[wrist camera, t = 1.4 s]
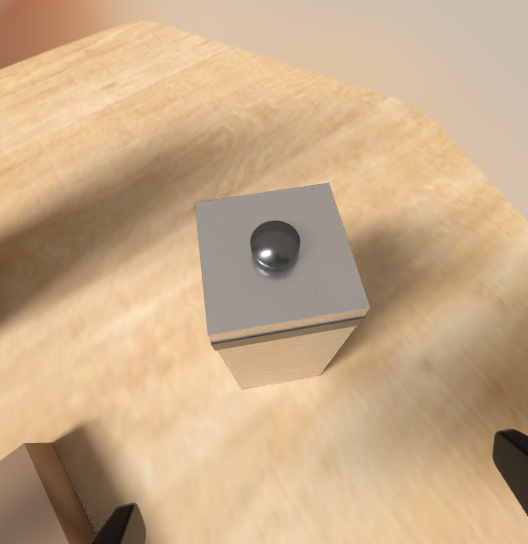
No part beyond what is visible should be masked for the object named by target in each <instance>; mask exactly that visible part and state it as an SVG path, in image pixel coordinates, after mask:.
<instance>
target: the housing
mask: <svg viewBox="0 0 528 544" xmlns="http://www.w3.org/2000/svg"><path fill="white" fill-rule="evenodd" d="M195 209H196V219H197V229H198V239H199V249H200V260H201V270H202V280H203V290H204V301H205V311H206V321H207V331H208V336H209V338H210V340H211V345H212V347H213V348H214V350H215V351H216V350H217V351H218V352H219V354H220V356H221V357H222V359H223V360H224V362H225V364H226V365H227V367H228V369H229V370H230V372H231V373H232V375H233V377H234V378H235V380H236V381H237V383H238V385H239V386H240V388H241V389H242V390H244V389H249V388H255V387H260V386H266V385H271V384H277V383H282V382H288V381H293V380H299V379H304V378H310V377H315V376H319V375H320V374H321V373H322V371H323V370H324V369H325V367H326V366H327V365H328V363H329V362H330V361H331V359H332V358H333V357H334V355H335V354H336V353H337V351H338V350H339V349H340V347H341V346H342V345H343V343H344V342H345V341H346V339H347V338H348V337H349V335H350V334H351V333H352V331H353V330H354V329H355V327H356V326H359V325H360V324H361V323H362V322H363V320H364V319H365V316H364V315H365V314H366V313H367V311H368V310H369V309H370V305H369V302H368V299H367V296H366V293H365V290H364V287H363V284H362V281H361V278H360V275H359V272H358V269H357V266H356V263H355V260H354V257H353V254H352V251H351V248H350V245H349V242H348V239H347V236H346V233H345V230H344V227H343V224H342V221H341V218H340V215H339V212H338V209H337V206H336V203H335V200H334V197H333V193H332V190H331V187H330V184H329V183H324V184H317V185H311V186H304V187H297V188H290V189H284V190H277V191H270V192H264V193H257V194H250V195H243V196H237V197H230V198H223V199H217V200H210V201H203V202H196V203H195Z"/></svg>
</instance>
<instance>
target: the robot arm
mask: <svg viewBox="0 0 528 544" xmlns="http://www.w3.org/2000/svg"><path fill="white" fill-rule="evenodd" d="M492 456H493V461H494V463H495V465H496V467H497V469H498V470H499V472H500V473H501V475H502V477H503V478H504V480H505V481H506V483H507V484H508V486H509V487H510V489H511V491H512V492H513V494H514V495H515V497H516V498H517V500H518V502H519V503H520V505H521V506H522V508H523V509H524V511H525V513H526V514H527V516H528V436H527V435H525V434H523V433H521V432H519V431H517V430H514V429H506V430H501V431H497V432H496V433H495V437H494V445H493V454H492ZM145 539H146V528H145V524H144V521H143V518H142V516H141V513H140V510H139V507H138V505H137V504H136V503H129V504H124V505H120V506H118V507H117V508H116V509H115V510H114V512H113V513H112V515H111V516H110V517H109V519H108V520H107V521H106V523H105V524H104V526H103V527H102V528H101V530H100V531H99V532H98V534H97V535H96V536H95V538H94V539H93V541H92V542H91V543H90V544H145Z"/></svg>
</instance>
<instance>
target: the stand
mask: <svg viewBox="0 0 528 544" xmlns="http://www.w3.org/2000/svg"><path fill="white" fill-rule="evenodd" d="M95 536H96V534H95V532H94V530H93V528H92V526H91V523H90V521H89V519H88V517H87V515H86V513H85V511H84V509H83V507H82V505H81V503H80V501H79V498H78V496H77V494H76V492H75V490H74V488H73V486H72V484H71V482H70V480H69V478H68V476H67V474H66V471H65V469H64V467H63V465H62V463H61V461H60V459H59V457H58V455H57V453H56V451H55V449H54V446H53V444H52V443H24V444H22V445H21V446H20V447H18V448H17V449H16V450H14V451H13V452H12V453H10V454H9V455H8V456H6V457H5V458H4V459H2V460H1V461H0V544H90V543H91V542H92V541H93V539H94V538H95Z"/></svg>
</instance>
